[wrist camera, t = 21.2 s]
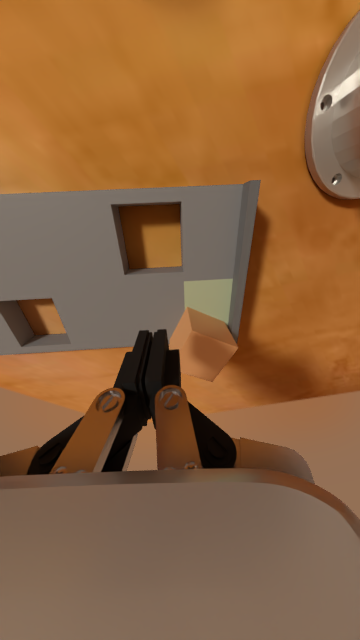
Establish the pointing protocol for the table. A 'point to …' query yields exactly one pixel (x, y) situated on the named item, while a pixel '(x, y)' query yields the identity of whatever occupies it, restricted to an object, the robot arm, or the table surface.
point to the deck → (120, 264)
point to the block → (202, 344)
